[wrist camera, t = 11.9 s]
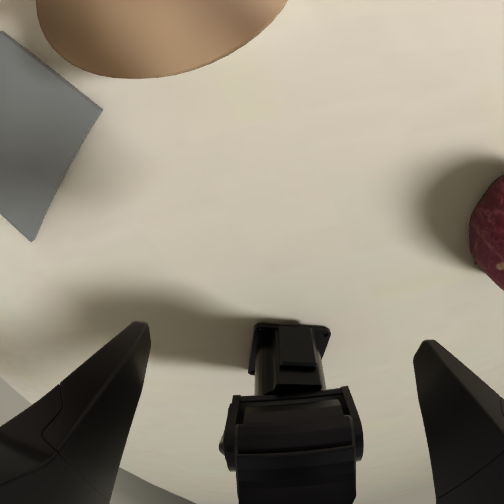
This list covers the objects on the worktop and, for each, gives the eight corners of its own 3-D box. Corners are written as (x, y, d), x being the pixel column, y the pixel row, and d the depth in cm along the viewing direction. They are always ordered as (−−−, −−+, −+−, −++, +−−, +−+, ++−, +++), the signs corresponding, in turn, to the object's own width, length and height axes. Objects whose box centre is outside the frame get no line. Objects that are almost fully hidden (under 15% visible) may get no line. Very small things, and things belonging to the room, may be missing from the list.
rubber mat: (103, 109, 18) (99, 110, 17) (34, 239, 22) (31, 242, 22) (2, 30, 13) (-3, 30, 13) (-46, 157, 18) (-50, 159, 18)
